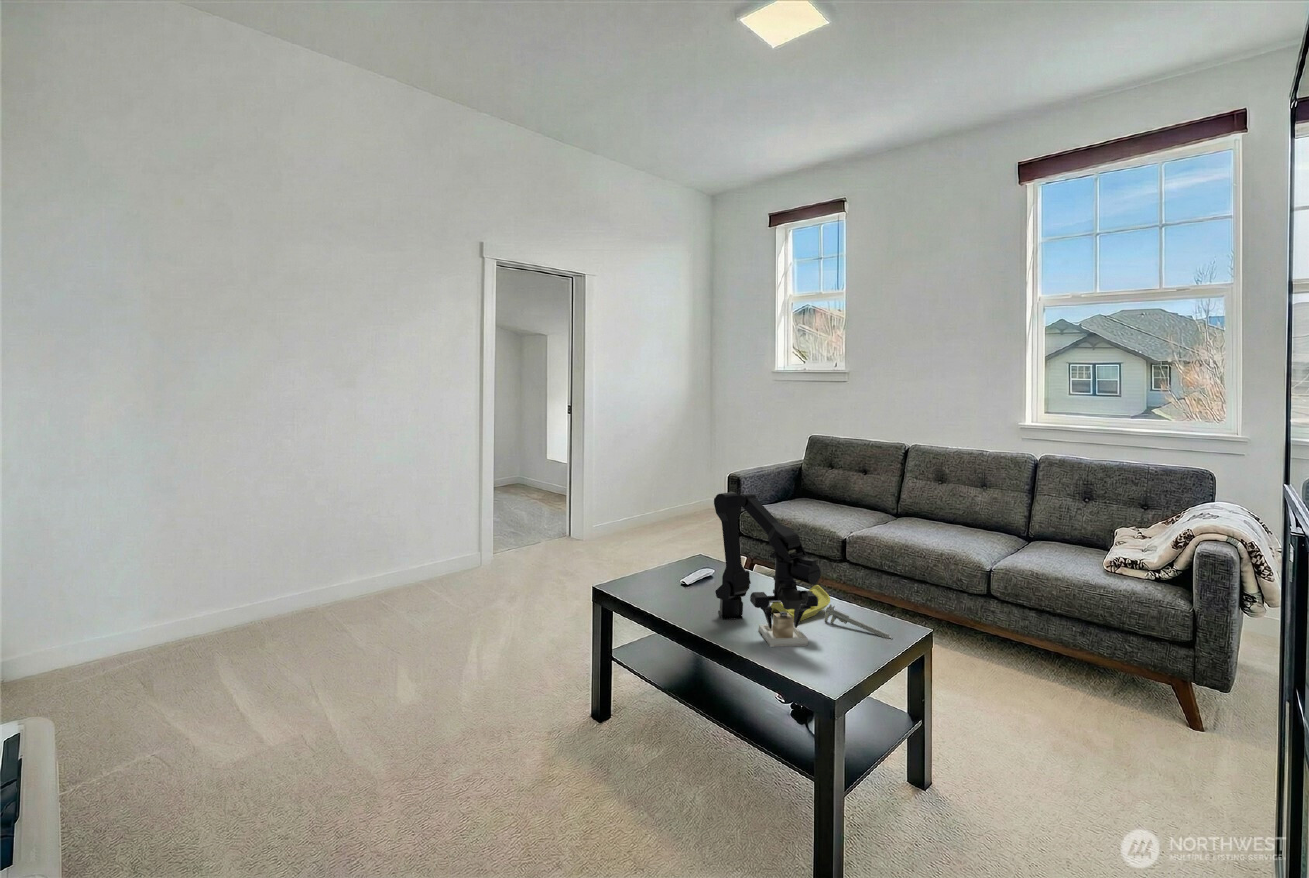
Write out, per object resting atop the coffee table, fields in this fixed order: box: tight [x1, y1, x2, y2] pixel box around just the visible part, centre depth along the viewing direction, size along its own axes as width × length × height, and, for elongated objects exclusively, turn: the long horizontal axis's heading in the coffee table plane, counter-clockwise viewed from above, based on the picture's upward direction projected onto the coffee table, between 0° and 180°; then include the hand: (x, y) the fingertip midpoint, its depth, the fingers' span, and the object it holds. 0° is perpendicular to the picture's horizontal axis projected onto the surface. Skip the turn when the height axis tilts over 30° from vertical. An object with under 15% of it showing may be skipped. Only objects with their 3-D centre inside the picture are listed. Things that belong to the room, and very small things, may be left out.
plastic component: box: [770, 584, 831, 624], centre depth 195 cm, size 20×7×10 cm
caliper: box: [824, 603, 894, 639], centre depth 181 cm, size 20×1×6 cm, turn 54°
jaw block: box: [772, 612, 794, 638], centre depth 174 cm, size 4×4×7 cm
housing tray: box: [758, 623, 809, 648], centre depth 174 cm, size 11×11×2 cm
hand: (782, 627), depth 174 cm, fingers open, 7 cm apart
